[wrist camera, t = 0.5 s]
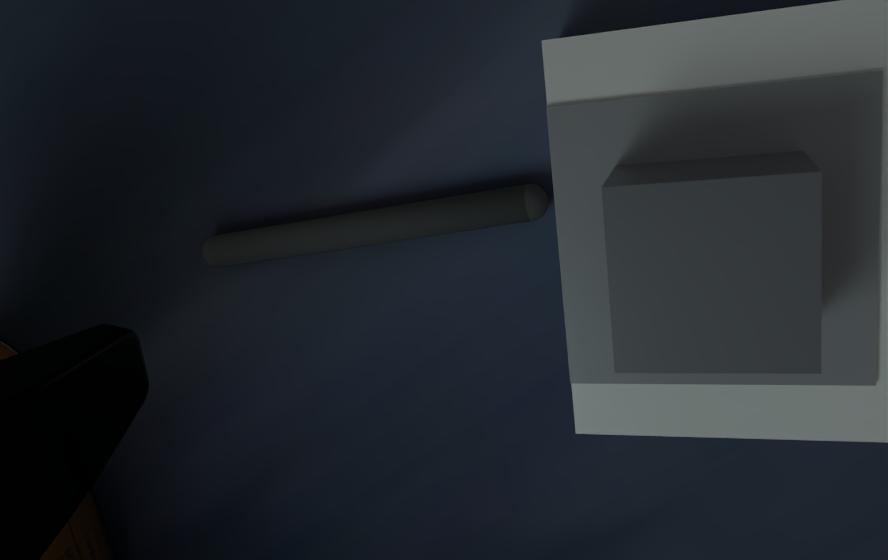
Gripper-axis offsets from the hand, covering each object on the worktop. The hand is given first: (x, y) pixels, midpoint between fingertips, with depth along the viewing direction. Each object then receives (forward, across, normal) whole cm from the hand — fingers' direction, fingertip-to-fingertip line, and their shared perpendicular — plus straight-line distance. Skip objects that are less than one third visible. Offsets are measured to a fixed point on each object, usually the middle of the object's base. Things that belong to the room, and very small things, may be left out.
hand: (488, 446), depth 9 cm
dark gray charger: (+11, -3, +3) cm, 12 cm away
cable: (+13, +7, +5) cm, 15 cm away
